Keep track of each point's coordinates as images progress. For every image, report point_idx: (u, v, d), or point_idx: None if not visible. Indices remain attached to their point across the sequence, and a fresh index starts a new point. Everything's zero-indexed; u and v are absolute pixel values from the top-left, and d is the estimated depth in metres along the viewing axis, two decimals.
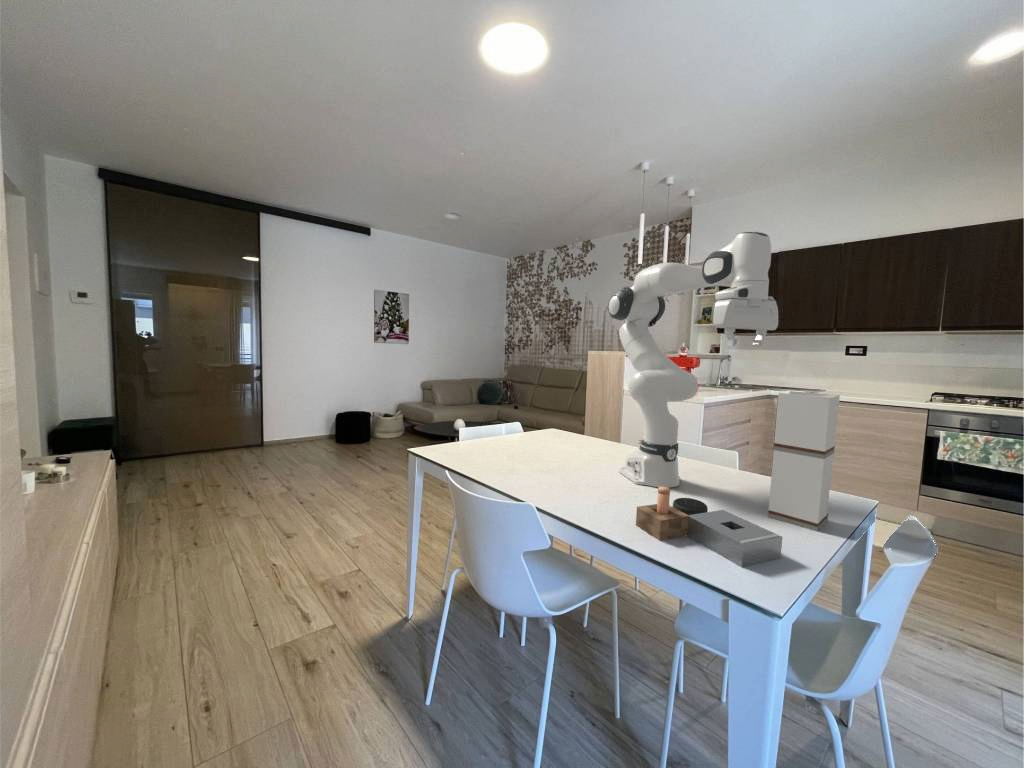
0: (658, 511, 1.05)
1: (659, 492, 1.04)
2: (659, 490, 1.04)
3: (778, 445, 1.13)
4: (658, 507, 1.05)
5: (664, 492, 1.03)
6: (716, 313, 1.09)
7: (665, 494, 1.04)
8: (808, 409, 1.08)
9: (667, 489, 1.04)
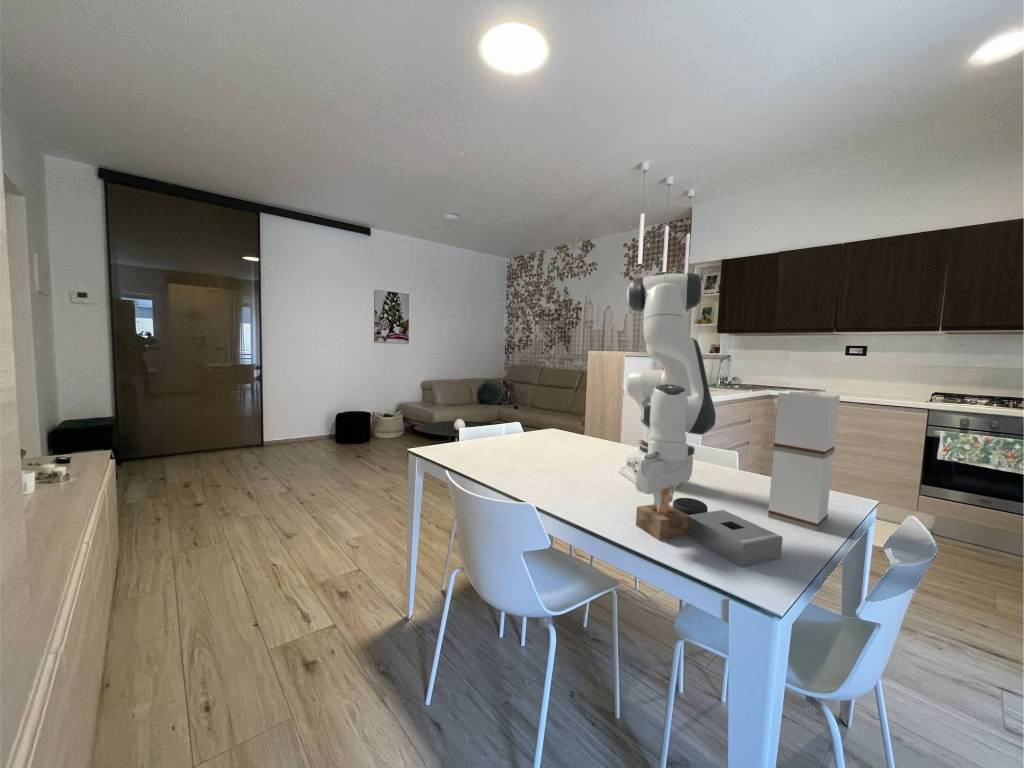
0: (658, 511, 1.05)
1: None
2: None
3: (778, 445, 1.13)
4: (658, 507, 1.05)
5: (664, 492, 1.03)
6: None
7: (665, 494, 1.04)
8: (808, 409, 1.08)
9: (667, 489, 1.04)
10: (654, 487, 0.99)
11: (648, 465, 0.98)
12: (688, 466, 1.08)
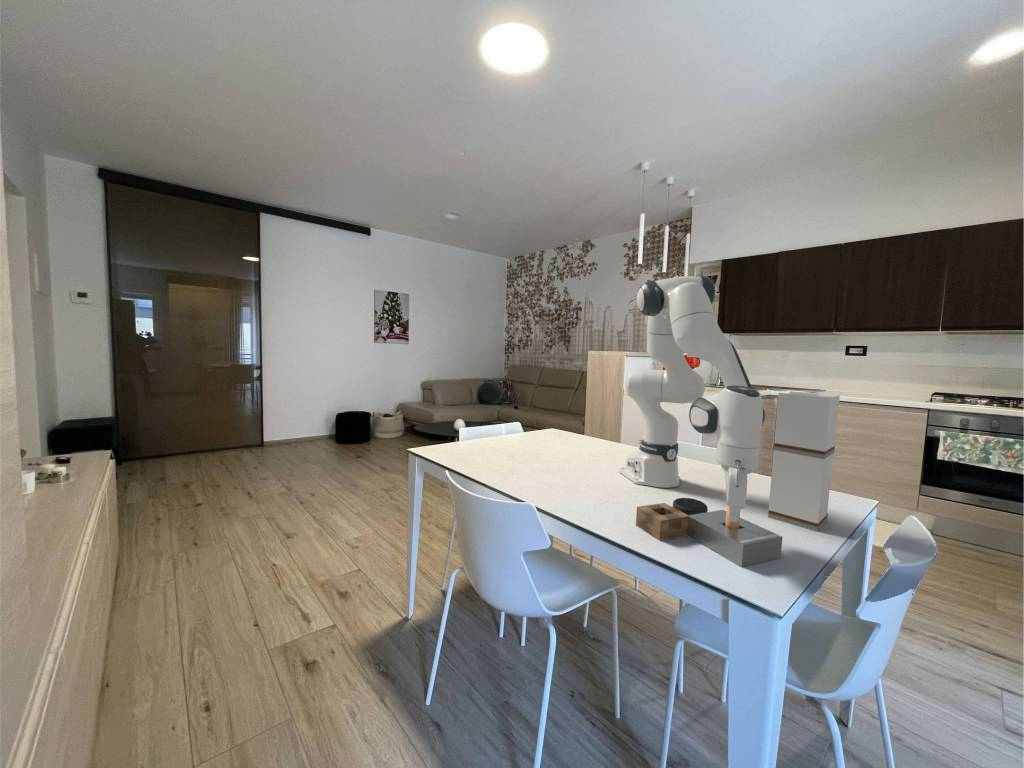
0: (730, 526, 0.97)
1: None
2: None
3: (778, 445, 1.13)
4: (730, 522, 0.97)
5: None
6: None
7: None
8: (808, 409, 1.08)
9: None
10: None
11: (742, 476, 0.88)
12: None
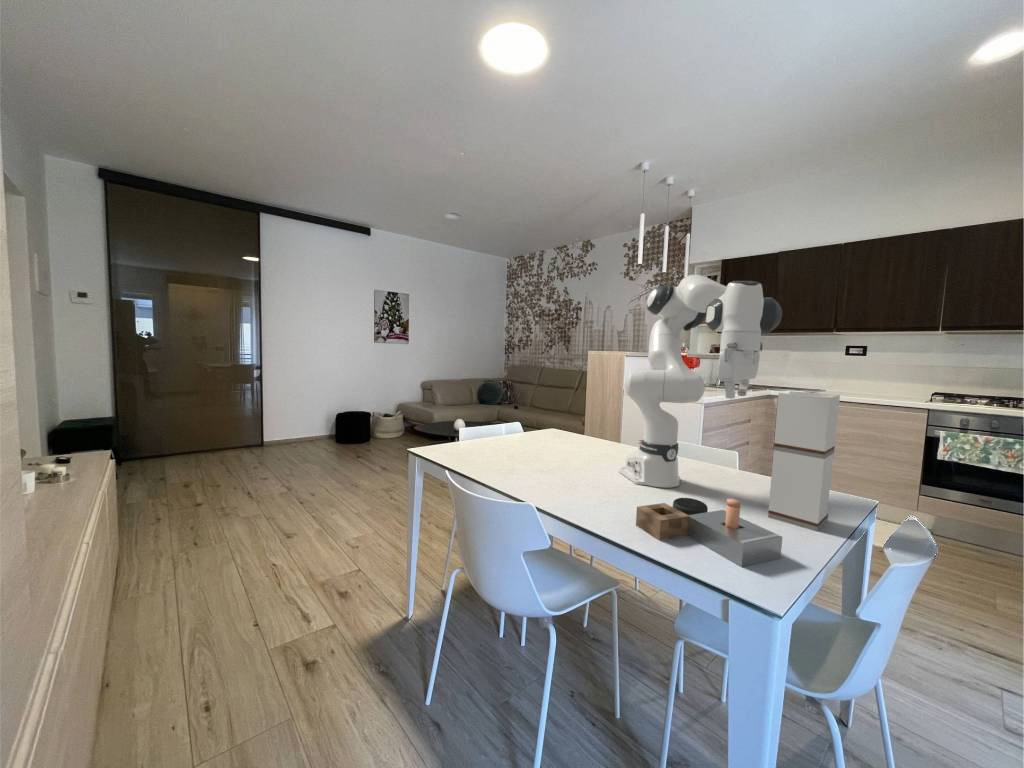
0: (730, 526, 0.97)
1: (731, 506, 0.96)
2: (731, 504, 0.96)
3: (778, 445, 1.13)
4: (730, 522, 0.97)
5: (737, 505, 0.96)
6: None
7: (738, 507, 0.96)
8: (808, 409, 1.08)
9: (738, 501, 0.97)
10: (736, 375, 1.01)
11: (731, 352, 1.00)
12: (755, 364, 1.11)
